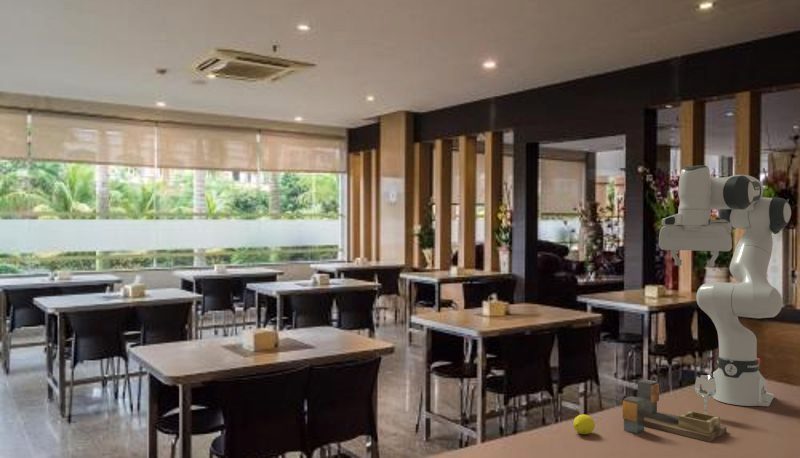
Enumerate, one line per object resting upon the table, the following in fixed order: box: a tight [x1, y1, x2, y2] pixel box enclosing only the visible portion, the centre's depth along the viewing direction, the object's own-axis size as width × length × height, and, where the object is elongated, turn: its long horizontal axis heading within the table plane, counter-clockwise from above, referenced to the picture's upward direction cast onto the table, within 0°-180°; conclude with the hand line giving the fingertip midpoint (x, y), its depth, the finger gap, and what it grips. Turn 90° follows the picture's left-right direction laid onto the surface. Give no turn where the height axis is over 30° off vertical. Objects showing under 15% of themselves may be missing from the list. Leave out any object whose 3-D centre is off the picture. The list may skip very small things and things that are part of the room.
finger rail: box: [637, 378, 727, 443], centre depth 179 cm, size 12×24×12 cm, turn 42°
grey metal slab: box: [622, 395, 645, 435], centre depth 175 cm, size 5×4×9 cm
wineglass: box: [694, 374, 716, 414], centre depth 189 cm, size 6×6×12 cm
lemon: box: [572, 414, 595, 435], centre depth 172 cm, size 7×5×5 cm
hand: (694, 266), depth 185 cm, fingers open, 8 cm apart
